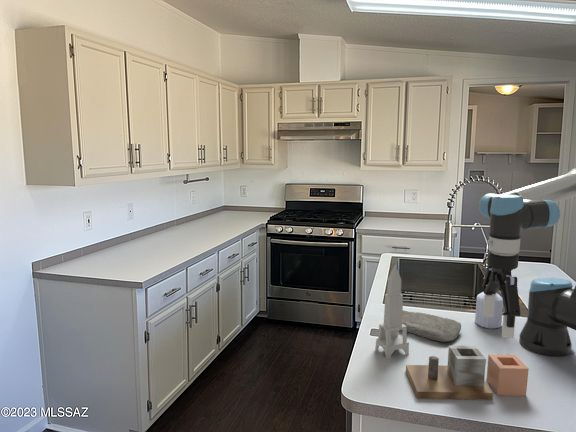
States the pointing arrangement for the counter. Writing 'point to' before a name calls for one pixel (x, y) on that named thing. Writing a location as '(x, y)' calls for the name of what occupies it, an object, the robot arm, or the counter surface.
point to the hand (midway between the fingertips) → (497, 326)
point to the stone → (431, 326)
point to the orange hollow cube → (507, 375)
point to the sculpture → (393, 318)
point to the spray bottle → (498, 308)
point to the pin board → (443, 385)
